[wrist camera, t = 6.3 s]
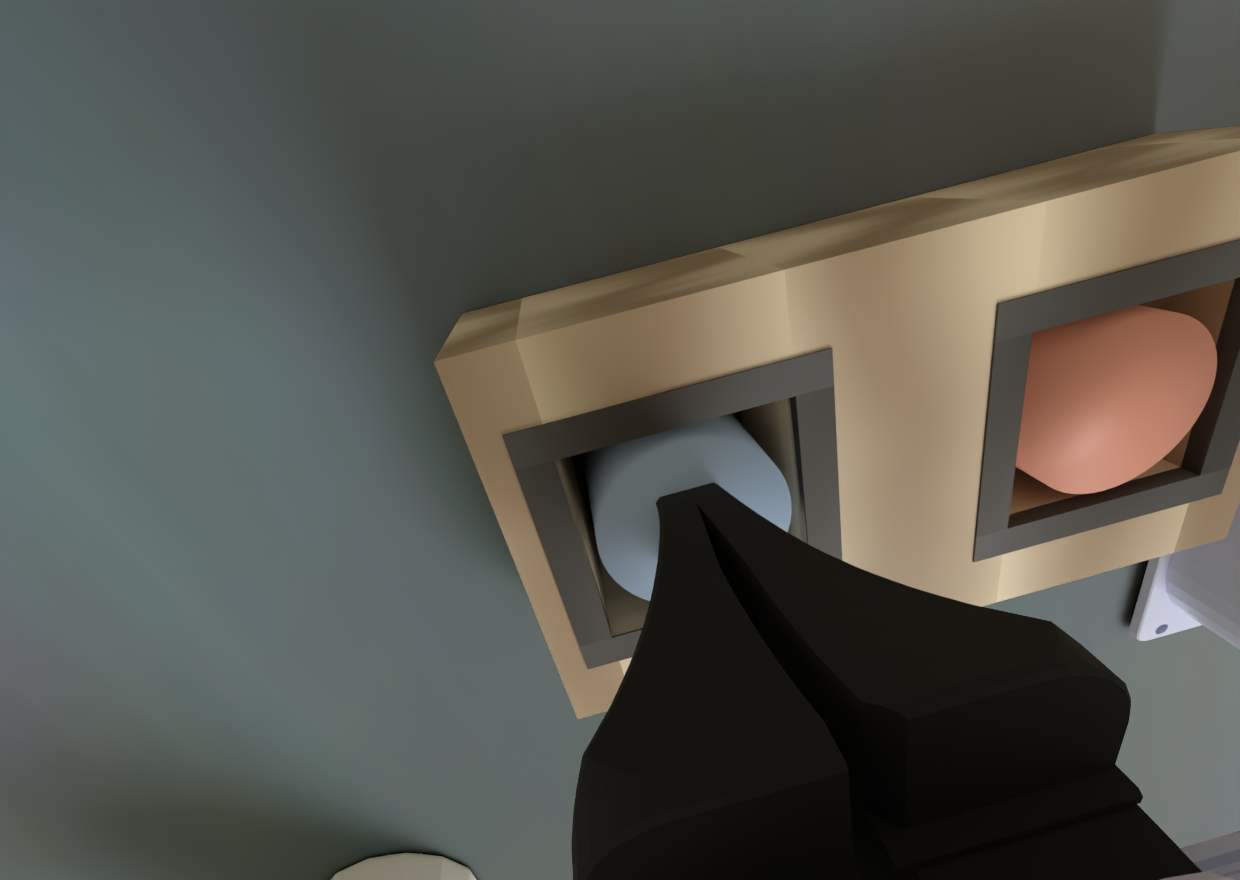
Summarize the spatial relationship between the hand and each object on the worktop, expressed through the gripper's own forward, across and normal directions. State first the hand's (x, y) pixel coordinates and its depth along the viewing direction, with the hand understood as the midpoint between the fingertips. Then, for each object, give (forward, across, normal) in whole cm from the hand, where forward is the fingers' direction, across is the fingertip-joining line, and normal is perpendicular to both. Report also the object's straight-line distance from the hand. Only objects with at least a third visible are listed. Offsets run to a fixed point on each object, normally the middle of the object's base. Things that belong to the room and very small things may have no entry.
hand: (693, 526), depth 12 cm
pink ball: (+4, -10, 0) cm, 11 cm away
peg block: (+4, -5, 0) cm, 6 cm away
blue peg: (+4, 0, 0) cm, 4 cm away
